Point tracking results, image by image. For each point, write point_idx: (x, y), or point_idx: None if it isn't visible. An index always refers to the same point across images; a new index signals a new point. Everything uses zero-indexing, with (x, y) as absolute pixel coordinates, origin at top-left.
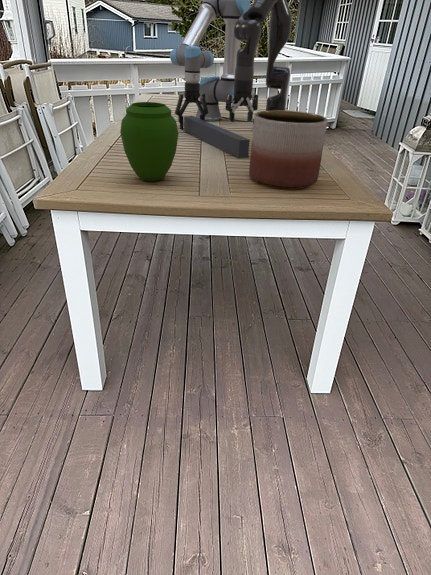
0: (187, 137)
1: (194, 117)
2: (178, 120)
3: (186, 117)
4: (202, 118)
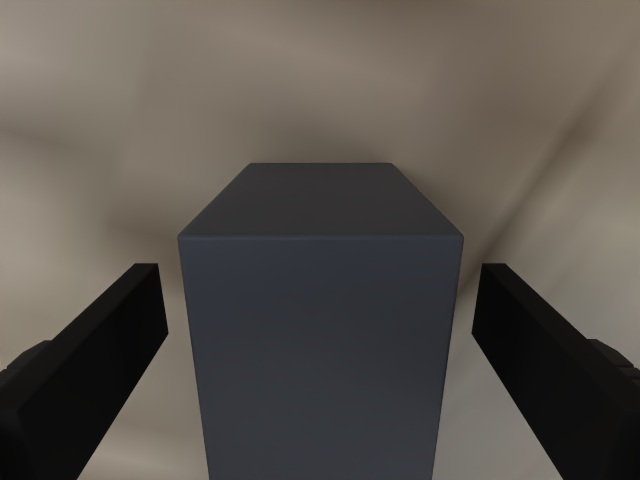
0: (174, 460)
1: (389, 436)
2: (8, 370)
3: (197, 381)
4: (559, 459)
